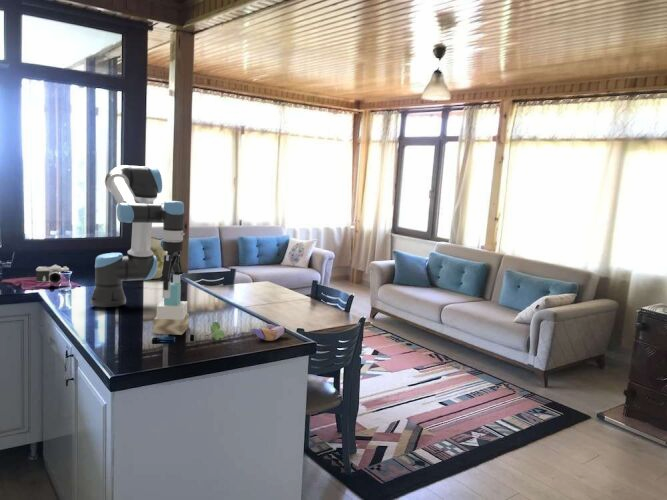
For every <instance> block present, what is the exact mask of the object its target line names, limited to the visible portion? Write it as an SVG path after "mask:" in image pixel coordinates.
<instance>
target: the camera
mask: <svg viewBox="0 0 667 500" xmlns="http://www.w3.org/2000/svg"><path fill="white" fill-rule="evenodd" d="M35 271H36V272H35V282H52V284H58V282H60V281H61V277H60V274H59V272H64V271H69V272H70V268H69V267H67V266H63V267H61V266H60V265H58V264H53V265H51V266H38V267H37V268H36V269H35Z"/></svg>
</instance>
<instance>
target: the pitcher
mask: <svg viewBox="0 0 667 500" xmlns="http://www.w3.org/2000/svg"><path fill="white" fill-rule="evenodd" d="M162 241H164V240H163V237H161V238H157V237H153V236H151V247H150V249H151V251H152V252H153V255H154V256H156V258H157V269H156V273H155V275H154V277H153V278H152V279H151V280H153V279H154V280H156V279H161V276H162V270H163V264H164V256H165V255H167V253H168V252H167V251H164V250H163V246H162Z"/></svg>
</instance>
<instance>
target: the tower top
mask: <svg viewBox="0 0 667 500" xmlns="http://www.w3.org/2000/svg"><path fill="white" fill-rule="evenodd" d="M187 313H188V301H183V300H182V301H181V300H180V304H178V305H177V306H173V305H164V300H161V301H160V302H159V303H158V304H157V306H156V316H157V319H173V320H183V319H184V318H185V316H186V315H187Z"/></svg>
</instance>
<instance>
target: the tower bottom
mask: <svg viewBox="0 0 667 500" xmlns="http://www.w3.org/2000/svg"><path fill="white" fill-rule="evenodd" d="M152 327H153V328H152V329H153V330H152V331H153V332H152V334H158V335H178V336H179V335H180V336H182V335H183V334H184V333H185V332H186V331H187V330H188V329H189V327H190V313H188V312H187V315H186V316H185V318H184V319H183V320H173V319H157V315H156V316H155V317H154V318H153V325H152Z"/></svg>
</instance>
